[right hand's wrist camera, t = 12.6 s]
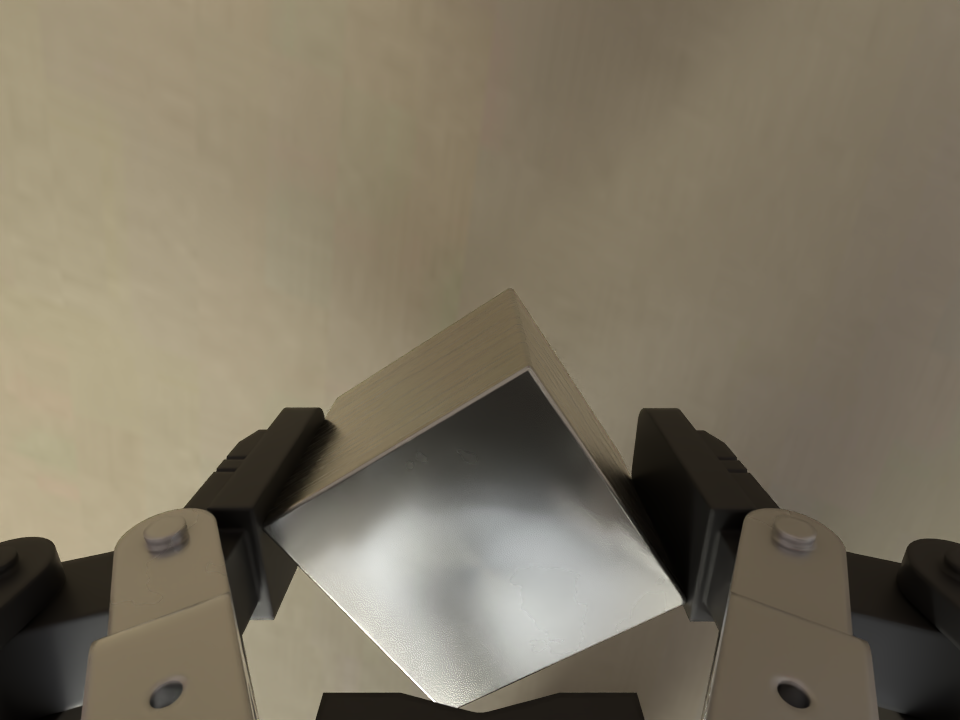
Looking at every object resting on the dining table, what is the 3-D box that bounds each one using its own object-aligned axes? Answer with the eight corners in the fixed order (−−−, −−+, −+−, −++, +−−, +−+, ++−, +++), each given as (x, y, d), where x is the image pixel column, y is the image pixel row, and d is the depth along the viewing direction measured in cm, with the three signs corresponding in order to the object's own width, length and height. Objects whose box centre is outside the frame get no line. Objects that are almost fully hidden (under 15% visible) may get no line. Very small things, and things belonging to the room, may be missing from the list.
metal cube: (511, 285, 11) (530, 363, 7) (620, 454, 13) (690, 603, 9) (335, 398, 12) (256, 527, 8) (455, 542, 14) (444, 716, 10)
